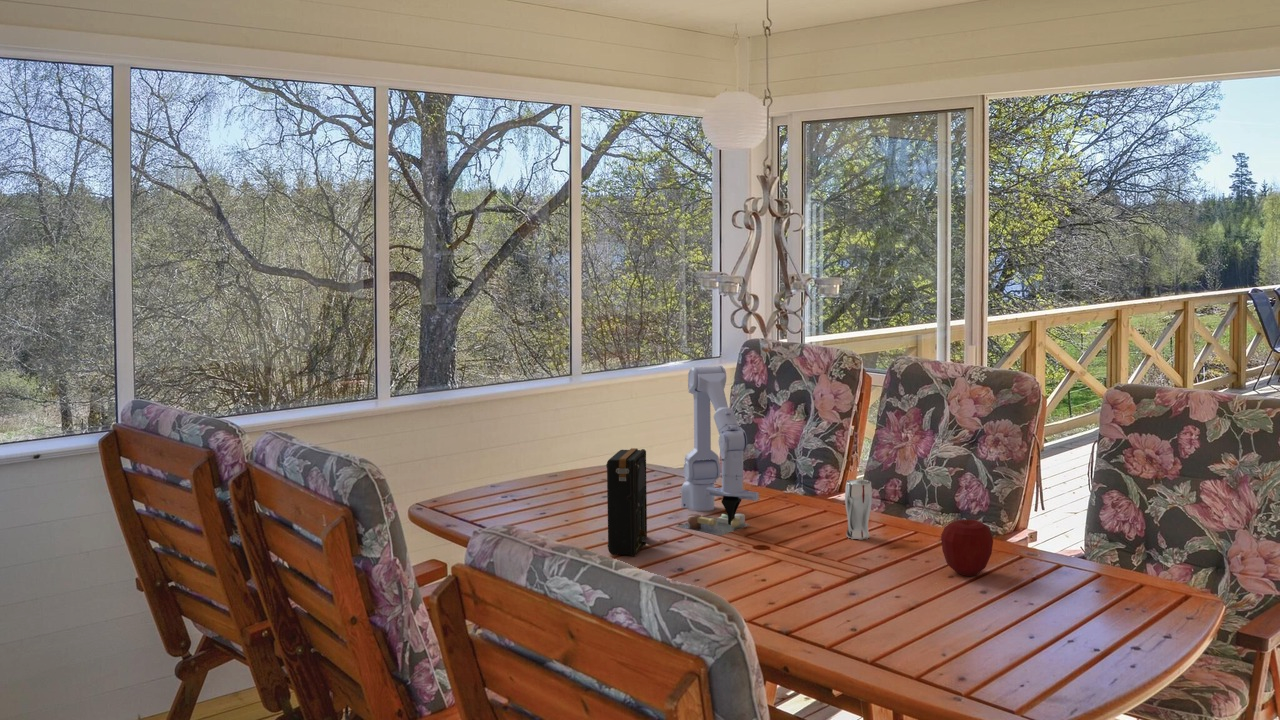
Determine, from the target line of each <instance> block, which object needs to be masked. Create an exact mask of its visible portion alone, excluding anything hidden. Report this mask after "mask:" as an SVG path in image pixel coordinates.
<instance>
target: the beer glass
mask: <svg viewBox="0 0 1280 720" xmlns="http://www.w3.org/2000/svg"><path fill="white" fill-rule="evenodd" d="M872 501H873V493H872V481H870V480H868V479H860V478H859V479H857V478H855V479H854V478H853V479H848V480H846V481H845V489H844V505H845V510H846V518H847V530H846V536H847V537H848V538H847V537H846V538H847V539H849V538H851V539H850V540H853V539H859V540H858V541H864V540H863V539H866V540H869V539H870V537H871V536H870V533H869V518H870V515H871V509H872ZM868 538H869V539H868Z"/></svg>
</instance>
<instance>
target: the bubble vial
mask: <svg viewBox="0 0 1280 720" xmlns="http://www.w3.org/2000/svg"><path fill="white" fill-rule="evenodd" d="M717 518H718V522H721V523H726V524H728V515H727V513H726V514H725V513H721V515H720V516H719V517H717Z"/></svg>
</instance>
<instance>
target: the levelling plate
mask: <svg viewBox="0 0 1280 720" xmlns="http://www.w3.org/2000/svg"><path fill="white" fill-rule="evenodd" d="M705 517H706V518H714V519H715V520H716V524H715V526H710V525H706V524H701V527H700V528H689V527H688V522H685V523H683V524H680V525H676V526H675V527H677V528H681V529H686V530H690V531H695V532H701V533H705V534H711V535H714V536H715V535H716V536H719V537H720V536H724V535H726V534H729V533H733V532H735V531H739V530H741V529H743V528H747V527H748V526H750V524H749V523H745V527H741V528H737V527H736V528H734V527H732V526H731V525H728V524H726V523H721V522H718V517H712V516H709V515H708V516H707V515H706V516H705Z"/></svg>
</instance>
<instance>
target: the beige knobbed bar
mask: <svg viewBox="0 0 1280 720" xmlns="http://www.w3.org/2000/svg"><path fill="white" fill-rule="evenodd" d="M714 518H715V517H713V518H706V516H702V515H701V514H697V513H694V514H693V513H692V514H688V515H687V523H688V527H689V528H700V527H701V524H706V525H710V526H715V524H716V520H715V519H714Z"/></svg>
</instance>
